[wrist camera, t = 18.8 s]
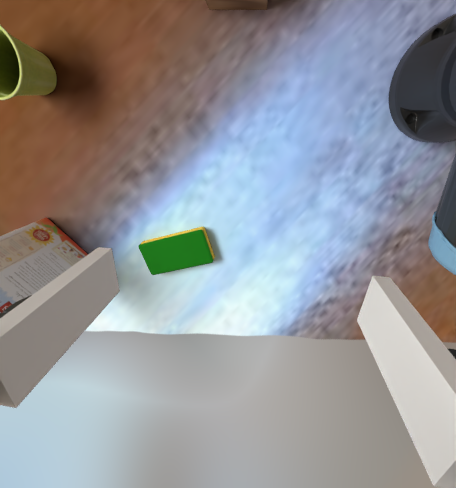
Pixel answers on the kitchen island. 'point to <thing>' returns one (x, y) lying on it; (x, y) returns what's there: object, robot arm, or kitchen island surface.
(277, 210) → the kitchen island surface
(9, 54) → the plant pot
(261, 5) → the offcut stack
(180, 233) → the dish sponge
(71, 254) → the cracker box
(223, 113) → the kitchen island surface
